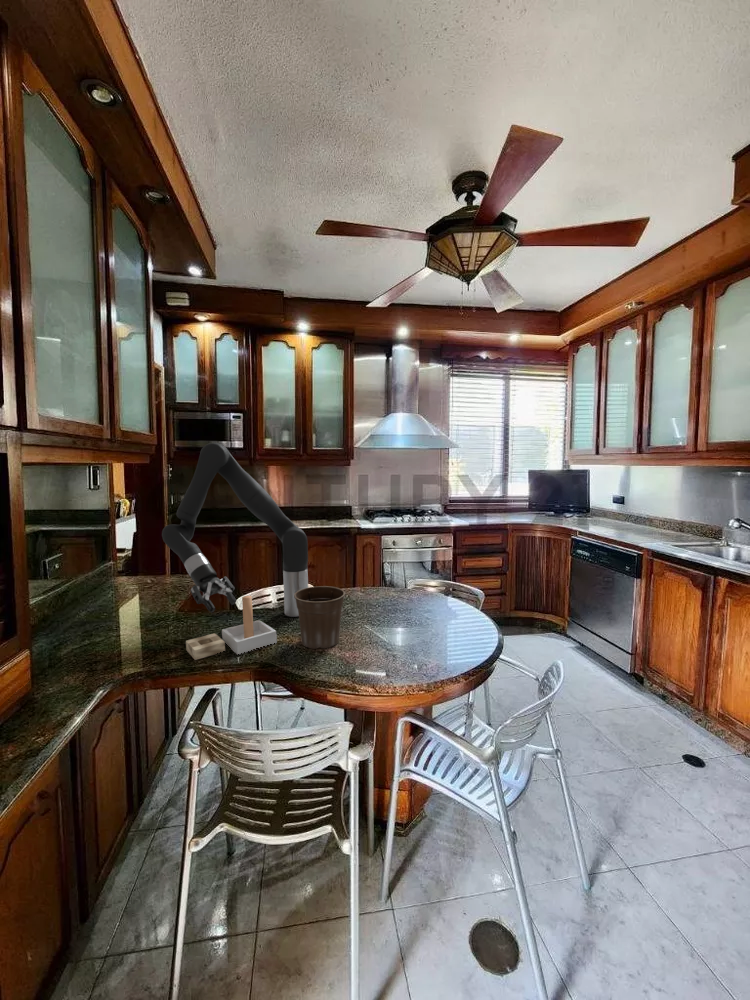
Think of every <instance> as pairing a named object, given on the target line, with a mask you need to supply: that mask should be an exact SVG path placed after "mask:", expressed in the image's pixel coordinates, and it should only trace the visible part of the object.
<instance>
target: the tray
mask: <svg viewBox="0 0 750 1000" xmlns="http://www.w3.org/2000/svg"><path fill="white" fill-rule="evenodd" d="M253 630H254V636H252V637H249V638H245V639H244V624H243V623H242V624H239V625H234V626H231V627H226V628H223V629H221V637H222V638H221V639H222V640H223V641H224V642H225V643H226V644H227V645H228V646H229V647H230V648H231V649H230V648H229V647H228V646H227V645H226V644H225V645H226V646H227V647H228V648H229V649H230V650H232V651H233V652H234V653H235V654H236V655H237V656H238V654H239V655H242V654H245V653H248V651H249V652H252V651H254V650H253V649H255V650H257V649H256V648H259V649H261V648H260V647H262V648H264V647H263V646H265V647H268V646H267V645H269V646H271V645H270V644H272V645H275V644H277V643H278V641H277V640H278V639H277V630H275V629H274V628H273V627H271V626H270V625H268V624H266V623H265V622H264V621H261V620H260V619H258V620H253ZM274 643H275V644H274ZM251 650H252V651H251ZM244 652H245V653H244ZM241 653H242V654H241Z"/></svg>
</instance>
